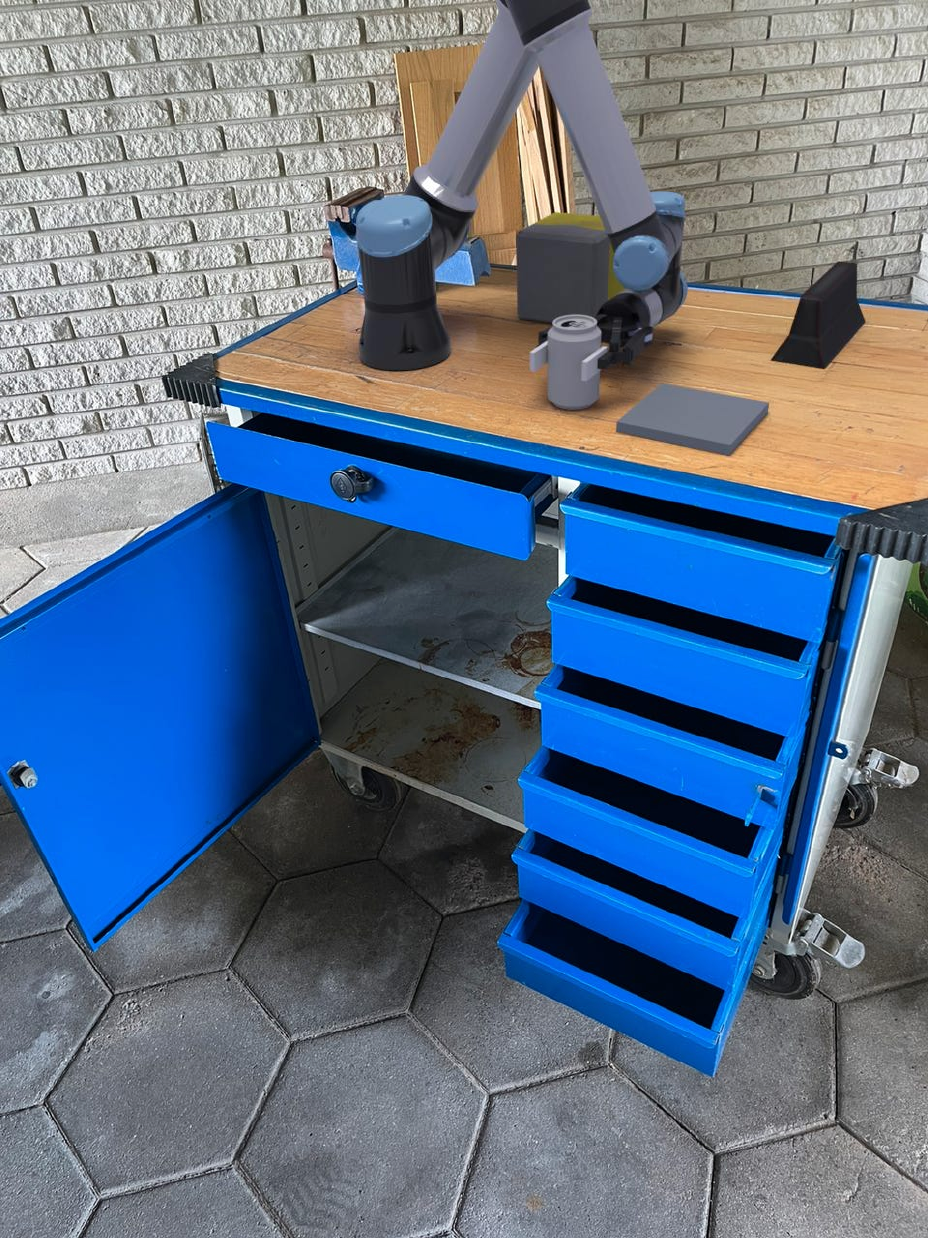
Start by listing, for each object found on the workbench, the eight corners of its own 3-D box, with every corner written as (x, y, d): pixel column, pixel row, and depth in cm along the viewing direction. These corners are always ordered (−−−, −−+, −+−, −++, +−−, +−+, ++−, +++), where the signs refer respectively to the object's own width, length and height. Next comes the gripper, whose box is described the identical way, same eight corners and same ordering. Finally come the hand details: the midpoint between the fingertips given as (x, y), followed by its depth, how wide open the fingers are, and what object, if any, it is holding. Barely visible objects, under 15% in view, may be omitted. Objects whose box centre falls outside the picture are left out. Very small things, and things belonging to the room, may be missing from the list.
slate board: (616, 431, 131) (616, 421, 131) (660, 392, 141) (661, 382, 141) (728, 455, 124) (730, 444, 123) (767, 412, 134) (769, 402, 133)
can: (566, 387, 145) (567, 308, 138) (609, 398, 141) (612, 316, 134) (537, 404, 140) (537, 323, 133) (580, 416, 136) (582, 333, 129)
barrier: (825, 371, 146) (836, 304, 140) (768, 362, 150) (777, 297, 144) (866, 322, 161) (878, 261, 155) (814, 315, 165) (823, 256, 159)
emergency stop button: (646, 289, 181) (651, 204, 172) (593, 330, 164) (596, 239, 156) (573, 280, 187) (575, 199, 179) (515, 319, 171) (514, 231, 162)
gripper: (688, 350, 146) (623, 405, 131) (569, 330, 155) (495, 380, 140) (693, 300, 141) (626, 351, 126) (570, 283, 151) (494, 329, 136)
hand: (557, 366), depth 133 cm, fingers closed on can, 7 cm apart
